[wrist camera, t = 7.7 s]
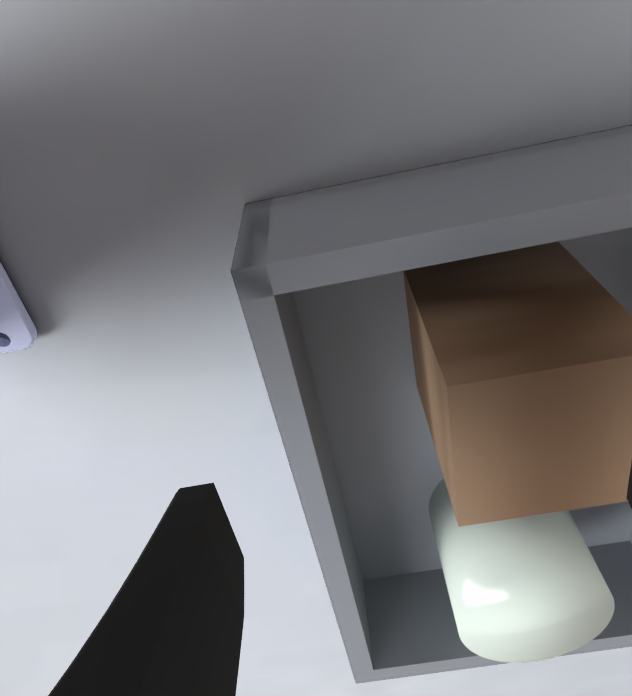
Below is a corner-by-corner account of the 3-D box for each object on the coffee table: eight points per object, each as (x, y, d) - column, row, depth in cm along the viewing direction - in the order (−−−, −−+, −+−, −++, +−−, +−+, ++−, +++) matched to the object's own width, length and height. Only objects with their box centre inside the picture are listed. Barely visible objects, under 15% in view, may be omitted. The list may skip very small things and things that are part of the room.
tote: (346, 582, 26) (355, 683, 23) (244, 204, 17) (230, 270, 13) (639, 538, 25) (700, 637, 22) (710, 109, 16) (843, 151, 12)
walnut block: (416, 385, 20) (458, 526, 15) (402, 266, 17) (447, 386, 12) (550, 362, 19) (640, 499, 14) (555, 238, 17) (665, 349, 12)
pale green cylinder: (433, 551, 24) (462, 671, 20) (422, 467, 22) (453, 584, 18) (553, 533, 24) (608, 651, 20) (557, 445, 21) (621, 560, 17)
